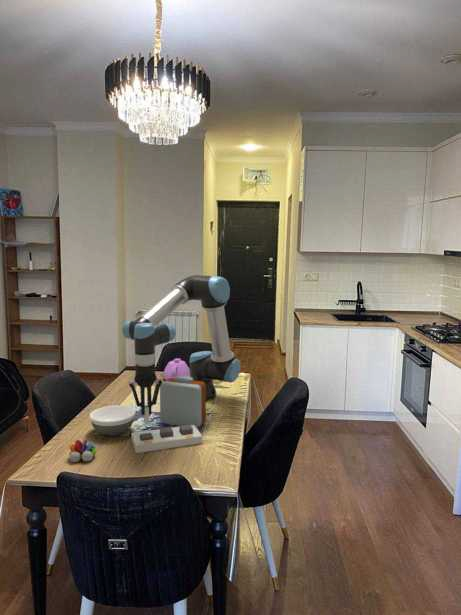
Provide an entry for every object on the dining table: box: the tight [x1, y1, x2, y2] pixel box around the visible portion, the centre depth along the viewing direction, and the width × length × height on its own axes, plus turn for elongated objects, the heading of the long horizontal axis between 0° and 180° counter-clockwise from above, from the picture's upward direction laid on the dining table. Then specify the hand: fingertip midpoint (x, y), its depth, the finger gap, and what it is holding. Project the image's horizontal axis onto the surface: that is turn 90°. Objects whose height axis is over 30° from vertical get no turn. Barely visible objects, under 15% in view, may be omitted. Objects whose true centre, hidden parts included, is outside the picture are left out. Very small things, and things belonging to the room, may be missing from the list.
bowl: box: [89, 404, 137, 437], centre depth 195 cm, size 19×19×8 cm
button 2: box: [178, 425, 193, 435], centre depth 188 cm, size 4×4×3 cm
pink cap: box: [162, 358, 190, 381], centre depth 267 cm, size 22×16×12 cm
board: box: [131, 425, 203, 454], centre depth 186 cm, size 26×12×3 cm, turn 110°
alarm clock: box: [159, 376, 207, 429], centre depth 204 cm, size 18×9×21 cm, turn 71°
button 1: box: [140, 433, 153, 441], centre depth 183 cm, size 4×4×3 cm
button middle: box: [159, 426, 173, 438], centre depth 186 cm, size 4×4×3 cm
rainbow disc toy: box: [68, 438, 97, 463], centre depth 172 cm, size 8×10×7 cm
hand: (146, 422), depth 182 cm, fingers closed
